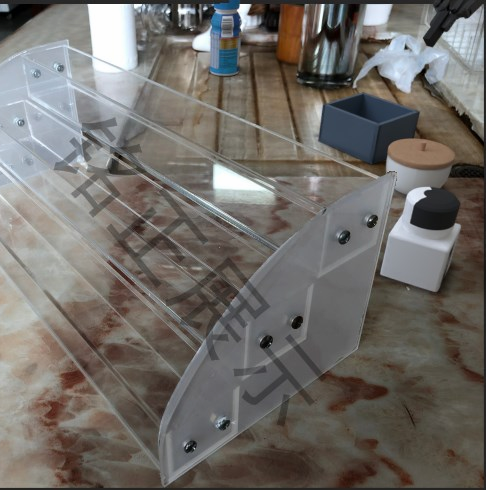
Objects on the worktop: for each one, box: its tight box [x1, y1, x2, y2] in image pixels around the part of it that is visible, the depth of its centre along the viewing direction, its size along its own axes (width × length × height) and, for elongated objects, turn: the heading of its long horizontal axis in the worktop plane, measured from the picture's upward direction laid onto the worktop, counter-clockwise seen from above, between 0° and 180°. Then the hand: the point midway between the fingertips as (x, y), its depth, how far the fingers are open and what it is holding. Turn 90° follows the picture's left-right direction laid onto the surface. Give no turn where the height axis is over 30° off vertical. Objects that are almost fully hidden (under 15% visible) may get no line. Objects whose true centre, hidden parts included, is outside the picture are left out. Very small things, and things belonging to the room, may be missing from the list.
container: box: [379, 187, 462, 293], centre depth 81 cm, size 8×8×13 cm
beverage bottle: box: [209, 0, 243, 77], centre depth 158 cm, size 8×8×20 cm
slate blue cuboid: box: [317, 91, 421, 166], centre depth 120 cm, size 8×14×12 cm
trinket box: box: [385, 138, 456, 196], centre depth 103 cm, size 11×11×9 cm
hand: (427, 42), depth 118 cm, fingers closed
